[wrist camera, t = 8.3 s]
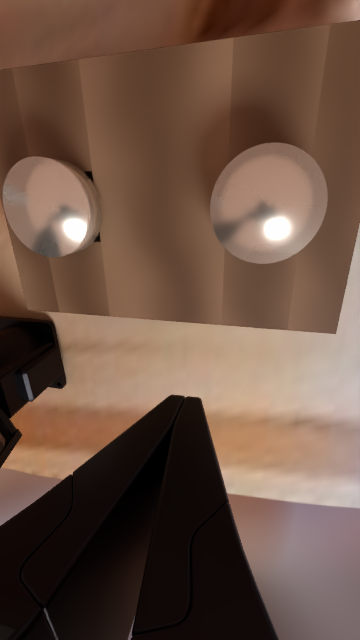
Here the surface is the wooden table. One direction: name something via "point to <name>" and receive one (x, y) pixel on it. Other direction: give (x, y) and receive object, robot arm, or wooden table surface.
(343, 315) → the wooden table surface
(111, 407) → the wooden table surface
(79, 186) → the far plunger
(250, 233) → the near plunger
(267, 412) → the wooden table surface
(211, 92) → the block
